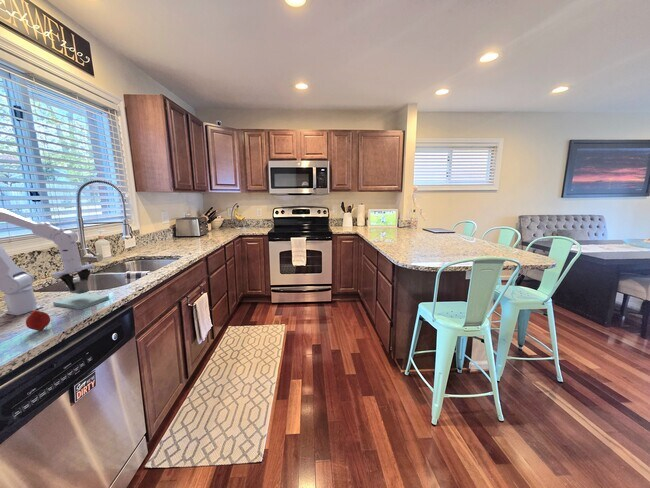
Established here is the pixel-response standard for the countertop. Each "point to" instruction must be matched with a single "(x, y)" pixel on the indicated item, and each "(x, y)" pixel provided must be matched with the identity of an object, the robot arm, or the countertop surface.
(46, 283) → the countertop surface
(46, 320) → the onion
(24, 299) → the robot arm
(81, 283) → the connector
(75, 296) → the board
